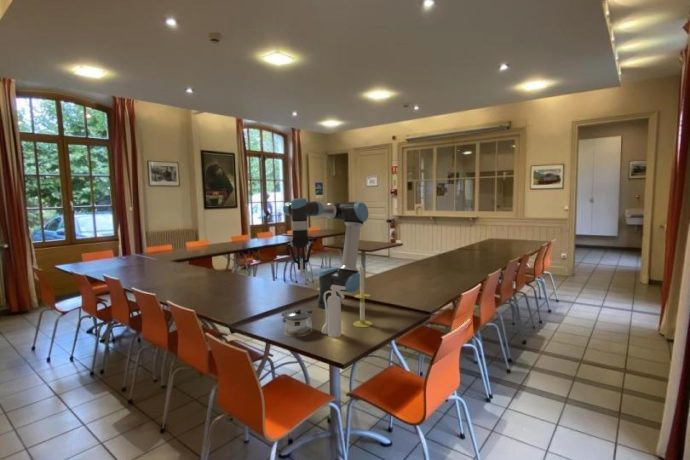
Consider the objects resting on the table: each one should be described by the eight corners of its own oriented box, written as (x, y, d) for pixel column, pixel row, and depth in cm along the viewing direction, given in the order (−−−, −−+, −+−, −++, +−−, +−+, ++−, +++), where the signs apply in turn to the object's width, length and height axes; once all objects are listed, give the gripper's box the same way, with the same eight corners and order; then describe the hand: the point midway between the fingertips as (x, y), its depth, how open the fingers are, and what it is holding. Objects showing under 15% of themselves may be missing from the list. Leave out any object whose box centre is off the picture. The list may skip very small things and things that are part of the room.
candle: (349, 323, 190) (348, 262, 187) (363, 319, 196) (363, 260, 193) (361, 329, 182) (360, 265, 179) (376, 324, 187) (375, 263, 185)
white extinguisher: (323, 331, 179) (323, 282, 176) (346, 334, 175) (347, 284, 172) (318, 336, 172) (318, 286, 169) (342, 340, 169) (342, 288, 166)
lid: (312, 309, 186) (312, 305, 186) (312, 318, 172) (312, 314, 172) (283, 311, 185) (283, 306, 184) (280, 320, 171) (280, 315, 170)
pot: (311, 323, 189) (311, 309, 188) (311, 337, 170) (311, 320, 170) (285, 325, 187) (284, 310, 187) (281, 338, 169) (281, 322, 169)
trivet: (312, 326, 186) (312, 325, 186) (312, 336, 173) (312, 335, 173) (285, 327, 185) (285, 326, 185) (283, 338, 171) (283, 337, 171)
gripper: (312, 228, 183) (314, 273, 186) (287, 229, 182) (289, 275, 184) (313, 229, 176) (315, 276, 178) (286, 230, 175) (288, 278, 177)
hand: (301, 275), depth 181 cm, fingers closed
